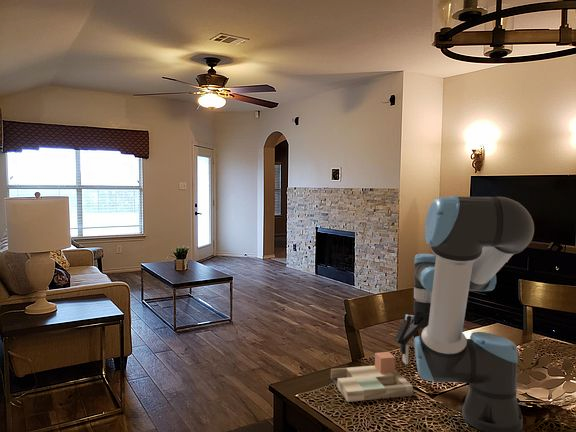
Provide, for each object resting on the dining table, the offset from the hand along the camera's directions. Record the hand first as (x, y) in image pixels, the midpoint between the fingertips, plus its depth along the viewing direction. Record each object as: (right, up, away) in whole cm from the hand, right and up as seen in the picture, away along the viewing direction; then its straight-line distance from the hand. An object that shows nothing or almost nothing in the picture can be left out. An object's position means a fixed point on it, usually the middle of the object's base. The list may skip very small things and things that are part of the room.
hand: (423, 361), depth 150 cm
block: (-14, -2, -3) cm, 14 cm away
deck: (-20, -5, -8) cm, 22 cm away
